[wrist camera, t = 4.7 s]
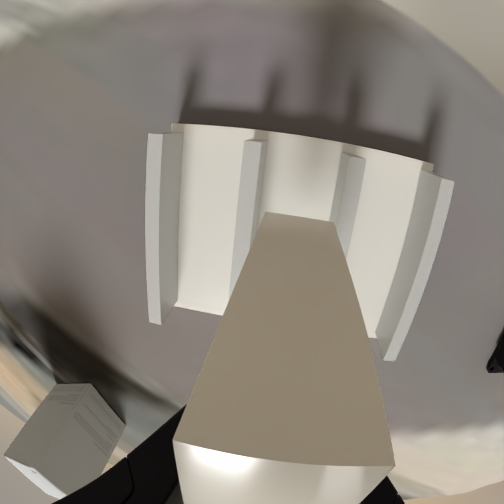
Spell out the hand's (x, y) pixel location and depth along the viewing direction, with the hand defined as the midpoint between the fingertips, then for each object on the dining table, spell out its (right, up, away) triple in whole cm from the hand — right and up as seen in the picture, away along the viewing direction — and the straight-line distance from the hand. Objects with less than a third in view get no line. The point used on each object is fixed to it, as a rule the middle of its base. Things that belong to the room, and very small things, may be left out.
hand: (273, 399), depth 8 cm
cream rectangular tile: (+1, +2, +5) cm, 5 cm away
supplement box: (-19, -14, +23) cm, 33 cm away
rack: (+2, +5, +12) cm, 13 cm away
